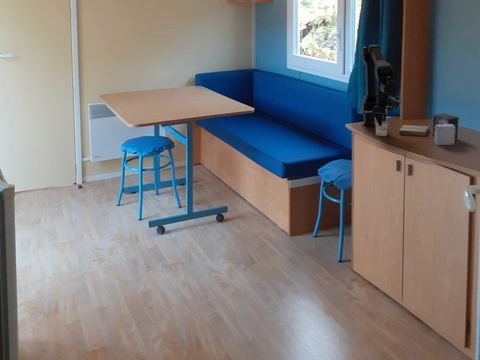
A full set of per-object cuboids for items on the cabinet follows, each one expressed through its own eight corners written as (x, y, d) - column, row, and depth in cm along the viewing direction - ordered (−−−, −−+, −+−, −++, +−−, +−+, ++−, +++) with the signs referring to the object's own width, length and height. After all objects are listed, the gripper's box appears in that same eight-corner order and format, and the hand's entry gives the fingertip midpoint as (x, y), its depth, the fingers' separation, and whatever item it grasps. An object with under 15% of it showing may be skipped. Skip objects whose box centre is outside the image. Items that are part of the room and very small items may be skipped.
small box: (431, 136, 298) (432, 114, 295) (442, 134, 300) (443, 112, 297) (446, 141, 289) (448, 118, 285) (457, 139, 291) (459, 116, 288)
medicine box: (450, 142, 286) (452, 123, 283) (454, 144, 282) (455, 126, 279) (433, 143, 286) (434, 124, 283) (437, 145, 281) (438, 126, 279)
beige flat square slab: (403, 128, 314) (403, 124, 313) (428, 130, 309) (428, 126, 309) (399, 134, 303) (399, 130, 303) (424, 135, 299) (425, 131, 298)
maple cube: (377, 133, 308) (378, 121, 306) (387, 133, 306) (388, 121, 304) (375, 135, 303) (375, 123, 302) (386, 136, 302) (386, 123, 300)
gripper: (396, 96, 287) (395, 129, 292) (403, 89, 303) (402, 120, 308) (372, 95, 291) (371, 128, 296) (380, 88, 308) (379, 119, 313)
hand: (382, 124), depth 303 cm, fingers open, 9 cm apart
